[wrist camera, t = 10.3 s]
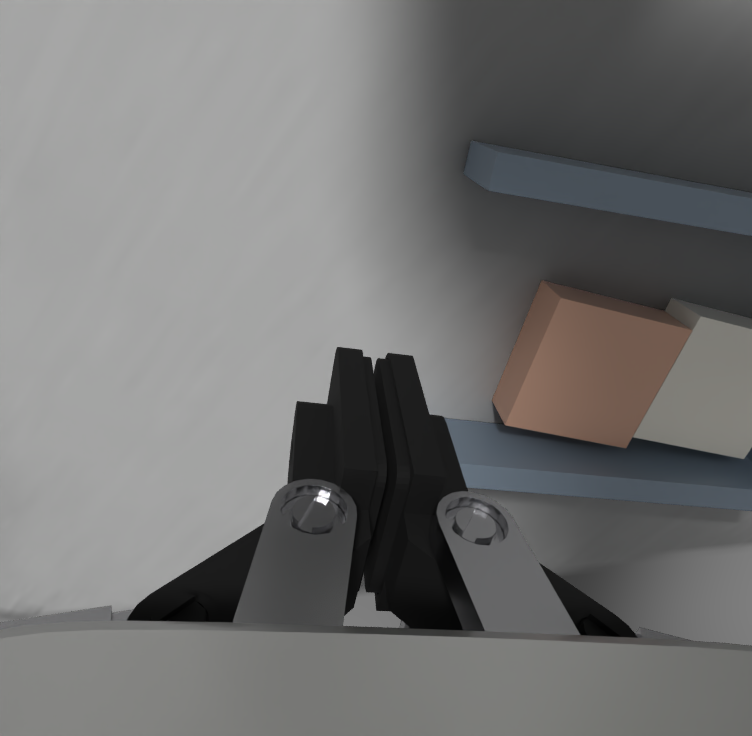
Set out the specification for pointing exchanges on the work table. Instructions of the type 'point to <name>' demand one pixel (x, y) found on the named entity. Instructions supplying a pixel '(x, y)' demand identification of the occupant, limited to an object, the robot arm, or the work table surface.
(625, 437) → the terracotta tile
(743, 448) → the cream tile
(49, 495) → the work table surface
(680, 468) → the box
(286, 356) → the work table surface
